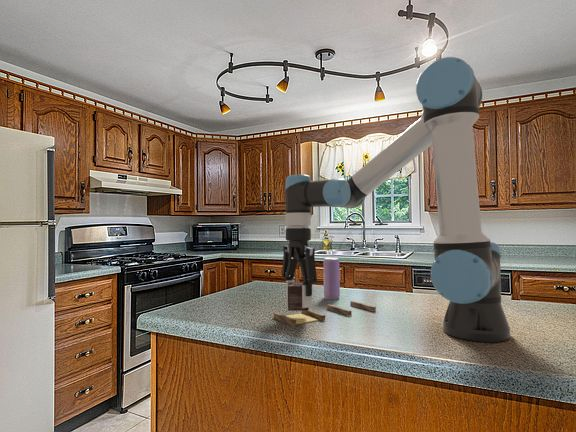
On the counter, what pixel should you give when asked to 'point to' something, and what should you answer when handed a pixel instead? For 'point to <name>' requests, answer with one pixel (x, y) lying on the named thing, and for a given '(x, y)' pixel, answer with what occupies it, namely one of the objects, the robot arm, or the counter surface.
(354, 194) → the robot arm
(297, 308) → the box
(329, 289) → the beverage can
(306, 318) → the pad
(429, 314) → the counter surface
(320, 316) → the notch rack
